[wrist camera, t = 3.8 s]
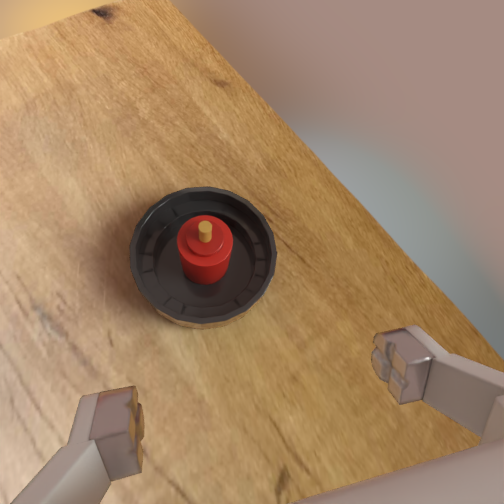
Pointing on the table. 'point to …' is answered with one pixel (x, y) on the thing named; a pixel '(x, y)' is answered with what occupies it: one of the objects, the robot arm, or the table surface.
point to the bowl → (170, 268)
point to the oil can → (204, 249)
